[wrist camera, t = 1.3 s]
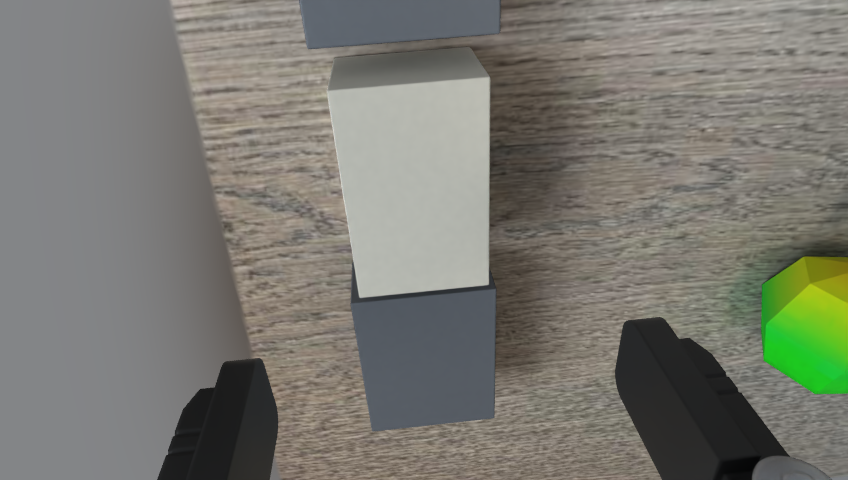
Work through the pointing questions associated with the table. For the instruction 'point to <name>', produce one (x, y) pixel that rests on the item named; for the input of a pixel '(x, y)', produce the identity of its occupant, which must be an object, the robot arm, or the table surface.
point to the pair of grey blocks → (430, 310)
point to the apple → (808, 323)
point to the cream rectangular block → (414, 168)
